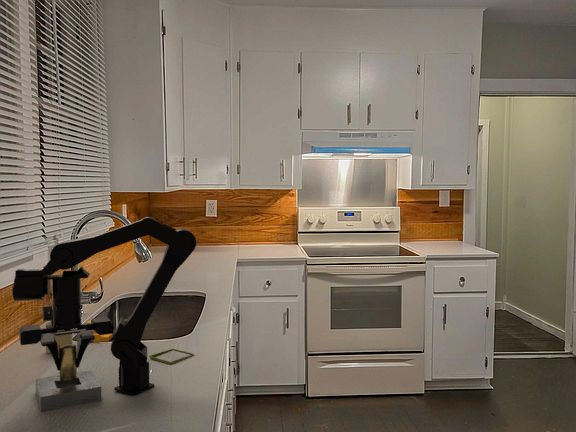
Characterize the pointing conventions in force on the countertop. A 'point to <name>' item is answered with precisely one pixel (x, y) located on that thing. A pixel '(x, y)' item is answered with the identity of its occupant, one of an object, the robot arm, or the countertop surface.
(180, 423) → the countertop surface
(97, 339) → the pipe clamp
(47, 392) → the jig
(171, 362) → the olive piece
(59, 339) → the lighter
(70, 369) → the bushing
